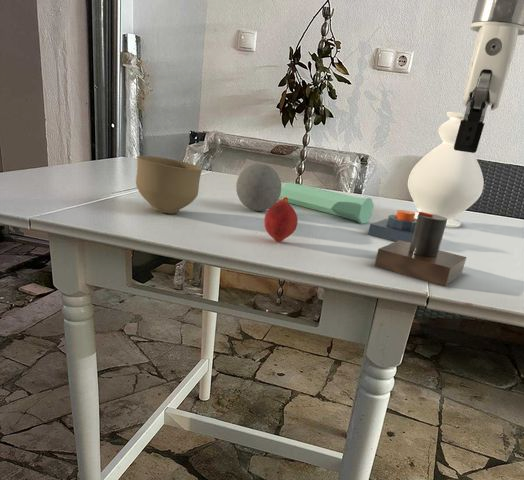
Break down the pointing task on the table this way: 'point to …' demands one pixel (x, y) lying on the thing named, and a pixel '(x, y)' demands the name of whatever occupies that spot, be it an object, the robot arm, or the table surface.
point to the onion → (280, 220)
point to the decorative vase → (446, 177)
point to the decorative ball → (258, 187)
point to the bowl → (167, 183)
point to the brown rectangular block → (420, 263)
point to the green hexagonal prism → (328, 201)
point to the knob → (427, 234)
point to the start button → (405, 215)
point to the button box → (393, 229)
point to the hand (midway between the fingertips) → (464, 149)
